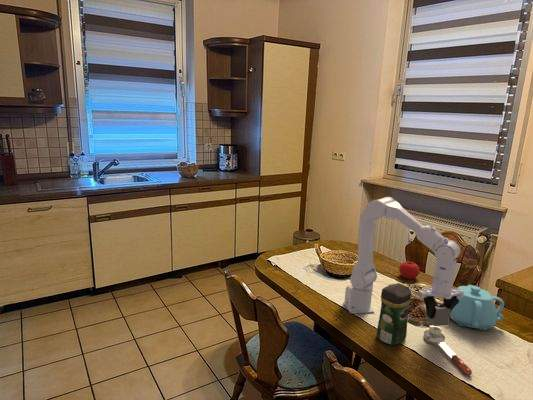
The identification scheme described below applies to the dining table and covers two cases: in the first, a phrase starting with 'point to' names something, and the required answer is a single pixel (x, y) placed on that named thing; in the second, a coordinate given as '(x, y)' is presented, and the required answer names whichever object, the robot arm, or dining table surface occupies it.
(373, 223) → the robot arm
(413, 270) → the tomato
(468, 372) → the ratchet
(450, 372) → the dining table surface
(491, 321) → the decorative pot
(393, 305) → the coffee jar
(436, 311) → the socket
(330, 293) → the dining table surface
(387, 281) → the dining table surface
